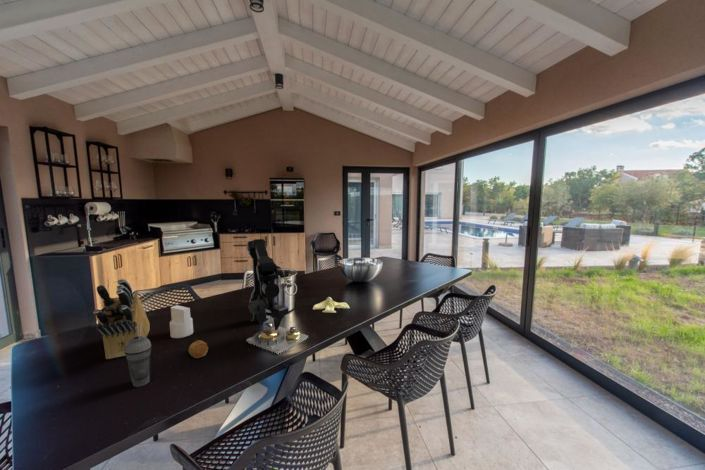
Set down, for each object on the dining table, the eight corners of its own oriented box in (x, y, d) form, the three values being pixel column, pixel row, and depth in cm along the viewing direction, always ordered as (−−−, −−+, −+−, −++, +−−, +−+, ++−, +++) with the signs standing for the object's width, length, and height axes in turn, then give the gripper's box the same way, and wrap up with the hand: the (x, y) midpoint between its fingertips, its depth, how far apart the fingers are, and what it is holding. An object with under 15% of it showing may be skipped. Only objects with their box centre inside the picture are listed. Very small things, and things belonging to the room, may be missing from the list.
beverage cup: (136, 376, 105) (131, 319, 102) (159, 375, 105) (154, 319, 103) (122, 390, 97) (116, 329, 95) (146, 388, 98) (141, 328, 96)
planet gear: (256, 338, 130) (256, 324, 130) (269, 332, 136) (269, 319, 135) (268, 342, 126) (267, 328, 126) (280, 336, 132) (280, 322, 131)
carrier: (246, 342, 130) (246, 330, 129) (277, 328, 144) (277, 317, 143) (278, 354, 119) (277, 341, 118) (308, 338, 133) (307, 326, 132)
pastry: (211, 356, 119) (210, 346, 118) (191, 361, 115) (190, 351, 114) (206, 346, 126) (205, 337, 126) (187, 351, 122) (186, 342, 122)
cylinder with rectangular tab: (197, 331, 141) (196, 305, 139) (179, 339, 133) (177, 312, 131) (184, 328, 145) (182, 303, 143) (165, 335, 136) (163, 309, 135)
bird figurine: (355, 306, 174) (354, 295, 173) (333, 316, 159) (333, 305, 158) (325, 299, 187) (324, 289, 186) (302, 307, 172) (302, 297, 171)
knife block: (96, 373, 107) (86, 286, 103) (121, 334, 138) (114, 266, 135) (135, 366, 112) (127, 282, 108) (150, 329, 143) (145, 263, 140)
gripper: (236, 292, 127) (238, 329, 129) (267, 300, 117) (268, 340, 119) (258, 286, 137) (260, 320, 138) (288, 293, 126) (289, 329, 128)
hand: (268, 327), depth 131 cm, fingers open, 9 cm apart
